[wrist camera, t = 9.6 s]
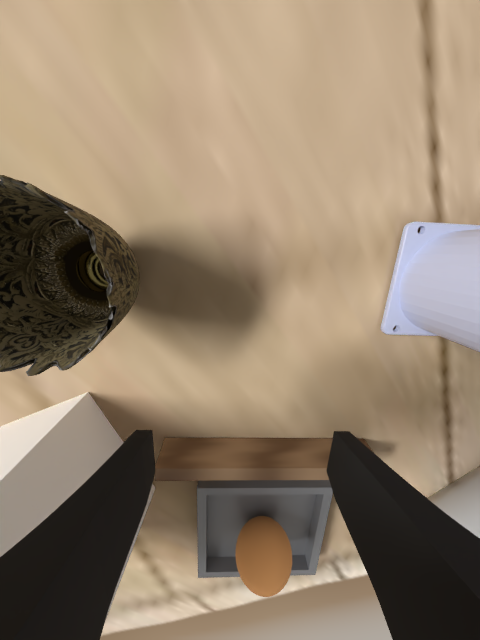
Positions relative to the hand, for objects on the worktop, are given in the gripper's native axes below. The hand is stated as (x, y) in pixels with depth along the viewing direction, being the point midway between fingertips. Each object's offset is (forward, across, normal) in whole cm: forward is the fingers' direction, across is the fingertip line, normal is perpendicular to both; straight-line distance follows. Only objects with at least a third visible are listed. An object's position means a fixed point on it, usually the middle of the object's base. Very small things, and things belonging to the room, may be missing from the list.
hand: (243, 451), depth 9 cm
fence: (+9, -3, +9) cm, 13 cm away
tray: (+9, -3, +18) cm, 21 cm away
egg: (+6, -3, +18) cm, 19 cm away
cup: (+10, +9, -6) cm, 14 cm away
